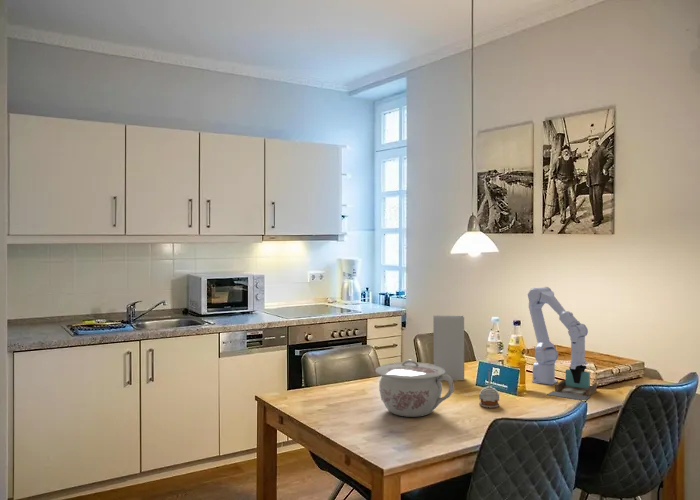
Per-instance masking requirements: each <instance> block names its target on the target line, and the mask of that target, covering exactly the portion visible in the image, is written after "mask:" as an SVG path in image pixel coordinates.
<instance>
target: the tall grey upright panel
mask: <svg viewBox="0 0 700 500" xmlns="http://www.w3.org/2000/svg"><path fill="white" fill-rule="evenodd" d="M432 325H433V328H432V329H433V365H436V366H440V367H442V368H443V369H445V371H446V372H445V373H444V374H443V375H442V376H444V375H446V374H447V375H448V376H450V377H451V378H452V380H453V381H457V380H464V381H465V317H464V315H433V324H432ZM439 377H440V376H439Z"/></svg>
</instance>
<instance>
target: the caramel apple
mask: <svg viewBox="0 0 700 500" xmlns="http://www.w3.org/2000/svg"><path fill="white" fill-rule="evenodd" d="M478 394H479V395H478V397H479V398H478V399H479V400H480V401H479V406H480V407H484V408H488V407H489V408H490V409H491V408H498V407H500V403H499V401H500V393H499V391H498V390H497V389H496V388H495V387H493V386H491V369H490V368H488V386H486V387H483V388H482V389H481V390H480V392H479V393H478Z"/></svg>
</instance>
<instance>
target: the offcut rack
mask: <svg viewBox="0 0 700 500" xmlns="http://www.w3.org/2000/svg"><path fill="white" fill-rule="evenodd" d="M597 386H598V385H597V384H596V383H593V384H591V385H590V387H589V388H587V389H585V388H578V387H571V386H566V379H563V380H561V381H559V382H556V383H555V384H554V391H556V392H561V391H562V389H564V388H572V389H579V390H585V391H586V394H585V396H589V397H591V396H592V395H594V394H595V393H596V392H597Z"/></svg>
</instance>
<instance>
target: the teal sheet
mask: <svg viewBox="0 0 700 500" xmlns="http://www.w3.org/2000/svg"><path fill="white" fill-rule="evenodd" d="M565 380H566V386H571V387H578V388H585V389H587V388H589V387H590V386H591V372H590V371H582V373H581V378H580V383H574V380H573V375H572V373H571V371H570V369H569V368H568V369H565Z"/></svg>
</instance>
